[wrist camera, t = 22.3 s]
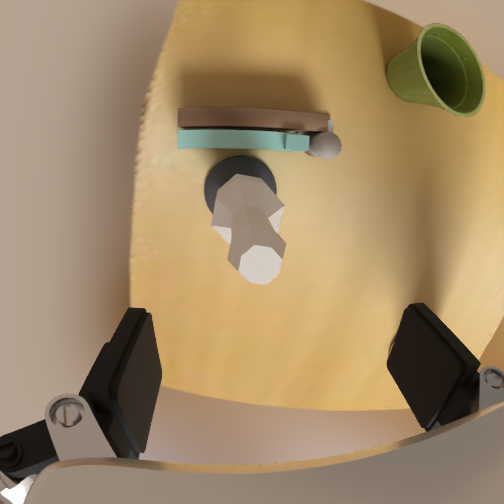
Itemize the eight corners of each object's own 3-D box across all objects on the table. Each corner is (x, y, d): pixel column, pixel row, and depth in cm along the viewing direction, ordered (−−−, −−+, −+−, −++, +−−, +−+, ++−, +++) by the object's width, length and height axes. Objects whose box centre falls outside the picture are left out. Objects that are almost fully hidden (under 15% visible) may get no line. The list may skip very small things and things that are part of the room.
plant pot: (416, 133, 35) (468, 138, 24) (357, 79, 31) (401, 62, 21) (445, 82, 31) (494, 76, 21) (392, 28, 28) (436, 6, 18)
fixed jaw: (328, 157, 35) (346, 160, 30) (185, 152, 34) (176, 154, 28) (330, 120, 34) (348, 117, 28) (185, 113, 32) (177, 107, 26)
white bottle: (251, 226, 38) (278, 330, 17) (207, 202, 36) (181, 286, 16) (276, 183, 36) (339, 243, 15) (232, 158, 34) (237, 183, 14)
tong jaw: (296, 150, 34) (308, 152, 29) (183, 147, 32) (175, 148, 27) (297, 134, 33) (309, 134, 28) (184, 131, 32) (175, 129, 27)
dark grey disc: (274, 226, 38) (274, 226, 38) (205, 225, 38) (204, 226, 37) (277, 157, 35) (278, 157, 35) (205, 155, 34) (204, 156, 34)
